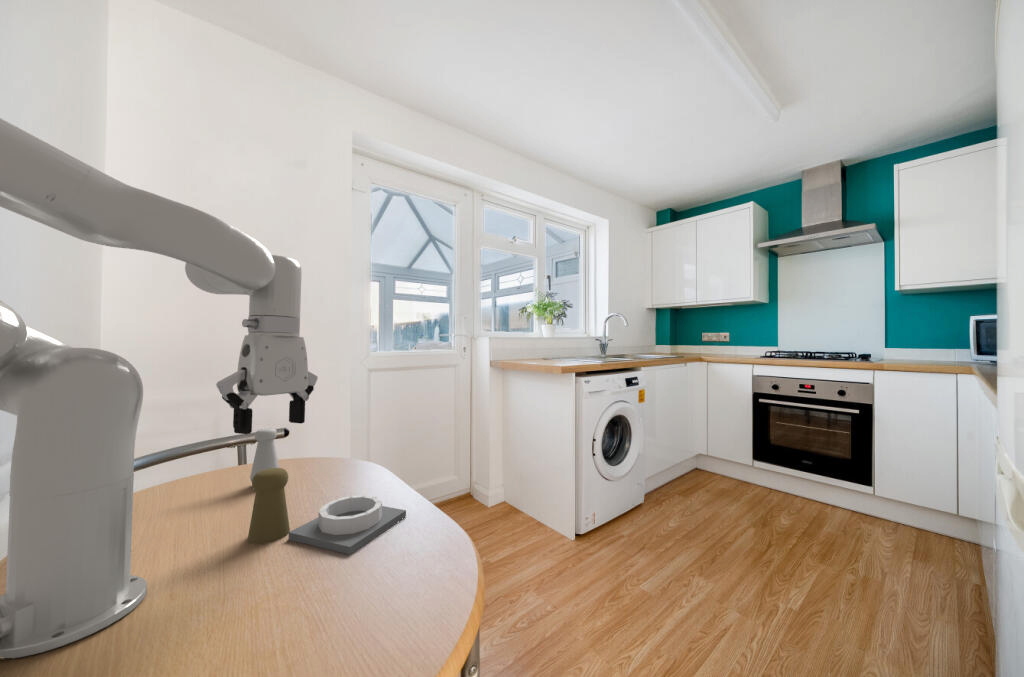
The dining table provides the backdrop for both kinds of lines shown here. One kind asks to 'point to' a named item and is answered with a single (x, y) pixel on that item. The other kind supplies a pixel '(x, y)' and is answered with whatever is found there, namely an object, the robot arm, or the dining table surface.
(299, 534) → the mat
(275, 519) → the cork
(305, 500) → the dining table surface
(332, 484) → the dining table surface
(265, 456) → the salt shaker
